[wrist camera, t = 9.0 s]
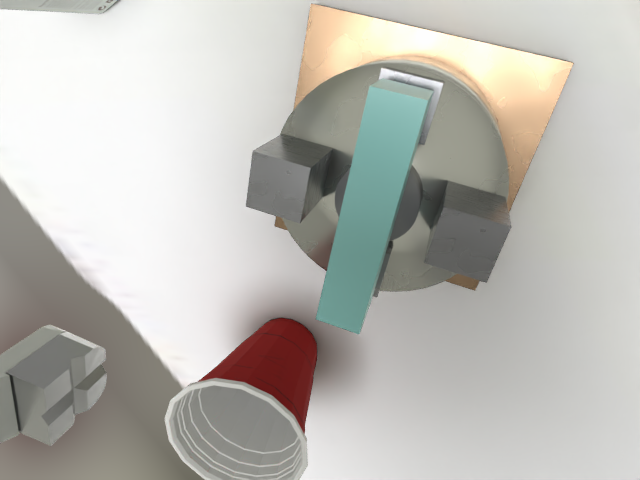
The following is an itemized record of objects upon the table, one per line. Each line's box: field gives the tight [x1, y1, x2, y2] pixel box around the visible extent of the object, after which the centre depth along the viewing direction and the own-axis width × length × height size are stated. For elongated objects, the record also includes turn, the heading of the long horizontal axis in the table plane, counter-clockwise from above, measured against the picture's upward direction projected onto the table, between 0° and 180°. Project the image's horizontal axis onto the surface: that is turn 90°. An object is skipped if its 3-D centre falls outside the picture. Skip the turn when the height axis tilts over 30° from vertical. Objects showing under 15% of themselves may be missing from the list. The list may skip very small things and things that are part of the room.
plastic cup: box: [165, 318, 317, 480], centre depth 37 cm, size 11×11×12 cm
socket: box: [246, 4, 574, 297], centre depth 27 cm, size 16×16×12 cm
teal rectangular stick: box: [316, 78, 434, 334], centre depth 23 cm, size 4×12×5 cm, turn 169°
